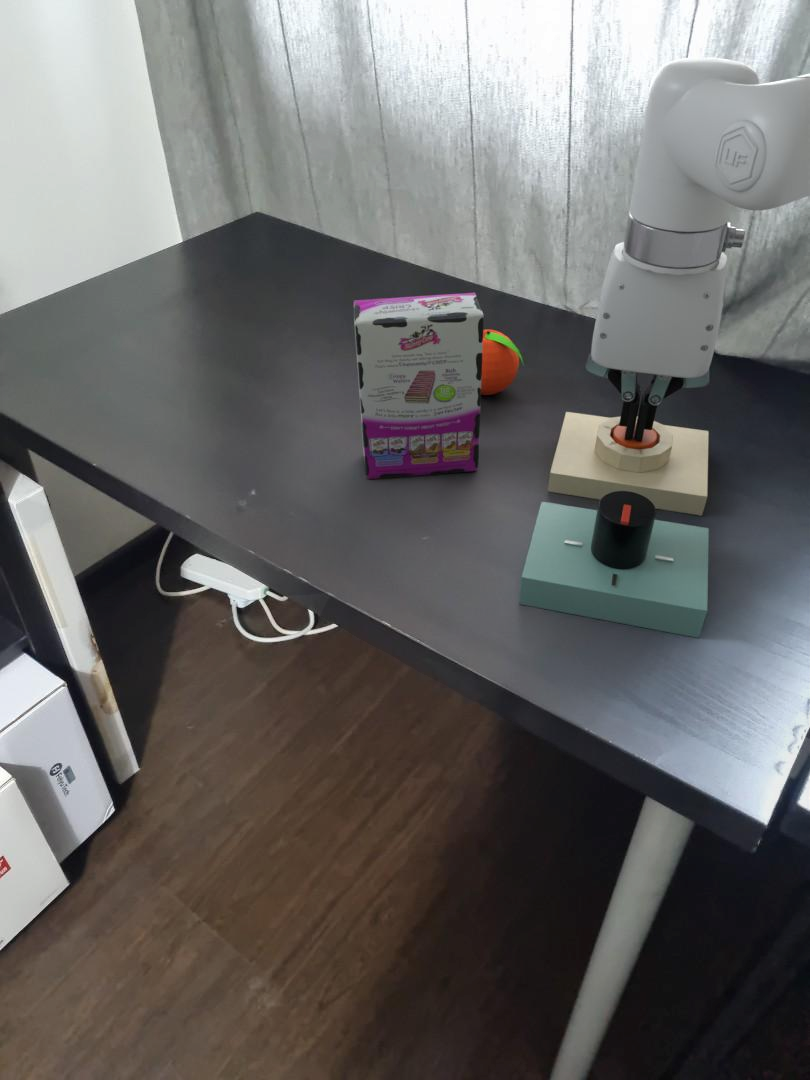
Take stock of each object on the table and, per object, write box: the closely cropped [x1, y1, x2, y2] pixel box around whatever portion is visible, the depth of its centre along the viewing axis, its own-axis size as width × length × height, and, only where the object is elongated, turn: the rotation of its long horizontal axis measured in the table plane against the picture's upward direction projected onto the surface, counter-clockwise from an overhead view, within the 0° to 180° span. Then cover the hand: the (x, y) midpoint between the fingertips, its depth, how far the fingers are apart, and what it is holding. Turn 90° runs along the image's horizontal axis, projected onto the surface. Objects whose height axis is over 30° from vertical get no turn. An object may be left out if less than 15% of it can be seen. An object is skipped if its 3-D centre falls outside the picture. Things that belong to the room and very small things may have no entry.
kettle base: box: [547, 411, 710, 517], centre depth 79 cm, size 14×11×4 cm
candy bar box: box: [353, 292, 485, 480], centre depth 76 cm, size 11×5×16 cm, turn 95°
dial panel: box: [518, 501, 710, 639], centre depth 68 cm, size 14×10×3 cm
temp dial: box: [591, 491, 657, 569], centre depth 65 cm, size 4×4×5 cm
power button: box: [612, 424, 657, 450], centre depth 78 cm, size 4×4×2 cm
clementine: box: [481, 329, 525, 396], centre depth 89 cm, size 8×7×7 cm
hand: (634, 432), depth 78 cm, fingers closed
